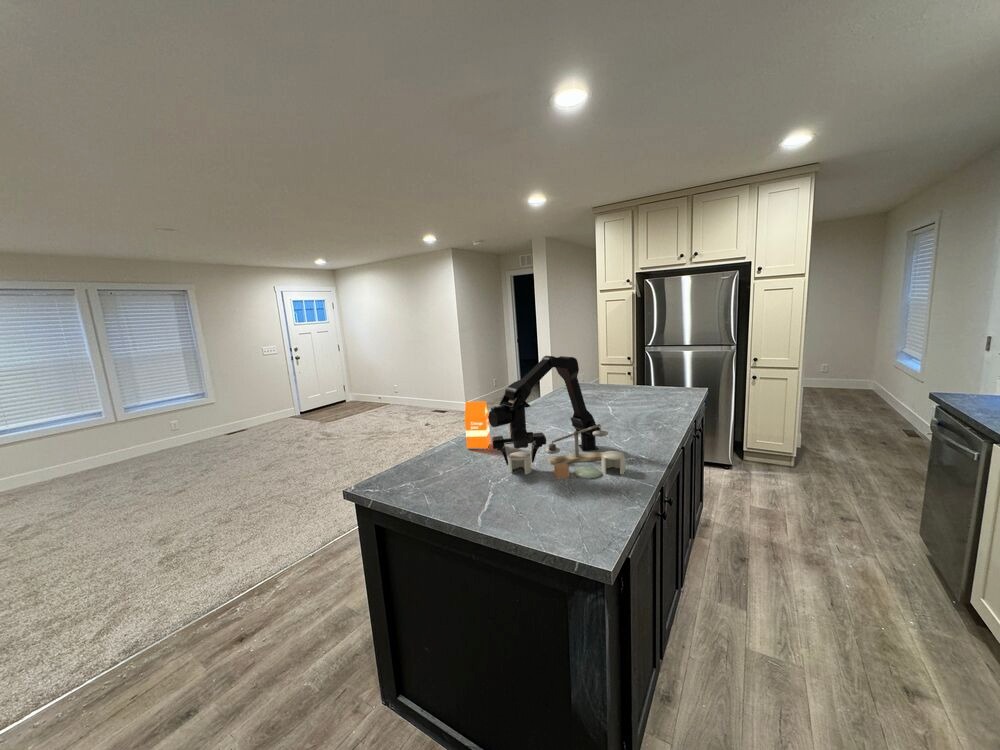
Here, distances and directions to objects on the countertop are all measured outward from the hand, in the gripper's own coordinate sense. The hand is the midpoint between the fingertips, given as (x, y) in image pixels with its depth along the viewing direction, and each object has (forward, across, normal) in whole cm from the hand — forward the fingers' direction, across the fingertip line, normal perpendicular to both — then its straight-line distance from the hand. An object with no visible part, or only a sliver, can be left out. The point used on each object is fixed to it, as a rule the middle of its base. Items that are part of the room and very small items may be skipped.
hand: (520, 463), depth 142 cm
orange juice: (+3, -14, +30) cm, 33 cm away
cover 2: (+3, +31, -8) cm, 32 cm away
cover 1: (+3, 0, 0) cm, 3 cm away
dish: (+3, +22, -8) cm, 24 cm away
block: (+3, +13, -8) cm, 15 cm away
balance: (+3, +22, +6) cm, 23 cm away
